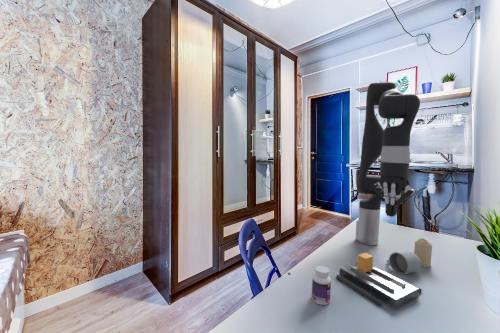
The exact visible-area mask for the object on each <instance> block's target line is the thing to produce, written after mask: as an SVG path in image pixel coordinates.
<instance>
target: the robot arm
mask: <svg viewBox="0 0 500 333" xmlns="http://www.w3.org/2000/svg"><path fill="white" fill-rule="evenodd" d="M399 88H400V87H399V86H398V84H397V83H396V82H395V81H394V82H393V81H387V82H386V81H385V82H384V81H383V82H381V81H380V82H372V83H370V84H369V85H368V87H367V91H366V102H365V103H366V104H365V120H364V127H363V128H364V129H363V135H362V142H361V154H360V163H359V164H360V165H359V171H358V174H357V175H358V176H357V179H356V190H357V192H358V193H360V194H363V195H364V194H365V195H371V196H370V197H367V198H364V199H361V200H360V201H359V203H358V217H357V218H358V219H357V220H356V225H355V240H356V241H358V243H360V244H362V245H366V246H377V245H378V244H379V235H380V223H381V222H380V218H381V205H382V202H384V203H385V210H384V211H385V212H384V213H385V214H386V216H387V217H391V218H393V217H395V216H397V214H398V205H403V204H406V203H407V201H409V200H411V198H412V197H413V196H415V195H416V194H417V193H418V192H417V189H414V188H412V187H411V186H410V182H409V180H408V179H409V172H410V171H409V170H410V161H411V158H410V157H411V156H410V155H411V153H410V145H411V144H410V143H411V134H412V133H411V132H412V128H413V125H414V121H415V120H416V116H417V115H418V112H419V109H420V106H421V101H420V98H419V96H418V95H417V94H415V93H414V94H413V93H407V94H404V93H402V92H401V91H400V89H399ZM375 106H378V108H377V112H378V116H379V117H381V118H382V119H385V120H386V119H387V120H392V119H393V120H395V119H397V120H398V119H402V122H401V123H400V124H398V125H393V126H388V127H386V128H383V126H382V125H381V122H380V121H379V119H378V118H377V115H376V111H375ZM379 158H380V165H379V166H380V167H379V175H376V174H368V172H369V170H370V168H371V167H372V165H373V164H374V163H375V162H376V161H377V160H378V159H379ZM403 192H404V193H403ZM402 193H403V194H402Z"/></svg>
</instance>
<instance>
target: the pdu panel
mask: <svg viewBox="0 0 500 333" xmlns="http://www.w3.org/2000/svg"><path fill="white" fill-rule="evenodd" d="M357 264H358V260H357V261H355V262H351V263H349V264H345V265H343V266H339V274H338V275H339V276H341V277H342V278H344V279H345V280H347V281H349V282H350V283H352V284H353V285H355V286H357V287H358V288H360V289H362V290H363V291H365V292H366V293H368V294H370V295H371V296H373V297H374V298H376V299H378V300H379V301H381V302H382V303H384V304H385V305H387V306H389V308H392V309H394V310H398V309H400V308H401V307H403V306H405V305H407V304H409V303H411V302H413V301H414V300H416V299H418V298H419V294H420V292H419V288H420V287H418V286H416V285H414V284H412V283H410V282H408V283H407V281H406V280H404V281H403V279H402V280H401V278H400V279H399V277H398V278H397V276H396V277H395V275H394V274H392V273H390V272H388V271H385V270H383V269H381V268H379V267H377V266H375V265H373V267H372V270H371V271H368V272H363V271H361V270H359V269H358V268H357ZM374 266H375V267H374ZM376 267H377V268H376ZM391 274H392V275H391ZM393 275H394V276H393ZM405 281H406V282H405ZM409 283H410V284H409ZM411 284H412V285H411ZM413 285H414V286H413ZM415 286H416V287H415ZM417 287H418V288H417Z"/></svg>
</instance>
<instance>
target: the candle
mask: <svg viewBox="0 0 500 333" xmlns="http://www.w3.org/2000/svg"><path fill="white" fill-rule="evenodd" d="M432 252H433V244H432V243H431V242H430V241H428V240H427V239H425V238H419V239H416V240H415V241H414V250H413V253H415V254H416V255H417V256H418V257H419V258H420V260H421V267H425V268H430V267H431V263H432Z"/></svg>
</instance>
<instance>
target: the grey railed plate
mask: <svg viewBox="0 0 500 333" xmlns="http://www.w3.org/2000/svg"><path fill="white" fill-rule="evenodd" d="M373 266H374V267H376V268H378V267H377V266H375V265H373ZM390 274H391V275H393V276H395V275H394V274H392V273H390ZM335 277H336V279H337V280H339V281H341V282H342V283H343V284H345V285H347V286H348V287H350V288H352V289H353V290H354V291H355V292H357V293H359V294H361V295H363V296H364V297H366V298H367V299H368V300H370V301H371V302H374V303H375V304H376V305H378V306H380V307H381V306H382V304H383V302H382V301H380V300H379V299H377V298H375V297H374V296H372V295H371V294H369V293H367V292H366V291H364V290H362V289H361V288H359V287H358V286H356V285H354V284H353V283H351V282H350V281H348V280H346V279H345V278H343V277H341V276H340V275H339V274H336V276H335ZM395 277H397V276H395ZM397 278H399V277H397ZM399 279H401V278H399ZM401 280H403V279H401ZM403 281H405V282H407V281H406V280H403ZM407 283H409V284H411V285H413V286H415V287H417V288H419V294H421V293H422V292H423V290H422V288H420V287H418V286H416V285H414V284H412V283H410V282H407Z"/></svg>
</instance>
